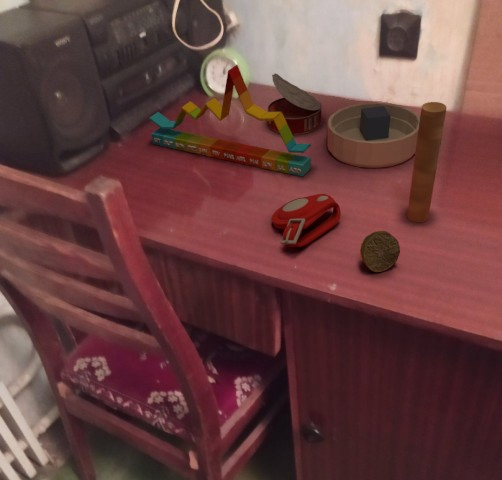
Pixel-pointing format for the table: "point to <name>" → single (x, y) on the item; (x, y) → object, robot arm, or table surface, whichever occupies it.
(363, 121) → the block
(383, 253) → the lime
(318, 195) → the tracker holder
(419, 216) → the stick
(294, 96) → the canned food
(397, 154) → the bowl
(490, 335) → the table surface
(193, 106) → the chart
